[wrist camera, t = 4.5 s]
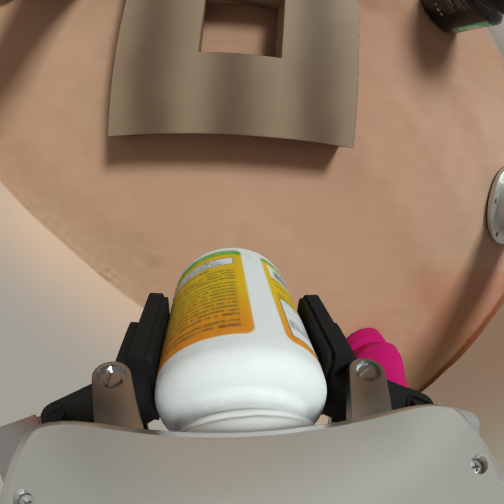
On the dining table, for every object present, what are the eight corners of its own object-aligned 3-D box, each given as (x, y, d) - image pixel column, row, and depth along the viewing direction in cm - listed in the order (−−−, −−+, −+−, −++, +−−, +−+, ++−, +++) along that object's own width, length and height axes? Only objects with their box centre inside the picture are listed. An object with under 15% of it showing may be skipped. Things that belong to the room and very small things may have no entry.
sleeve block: (343, -22, 17) (355, -33, 14) (339, 146, 24) (353, 147, 22) (148, -40, 14) (142, -54, 11) (119, 136, 22) (107, 136, 19)
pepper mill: (392, 332, 35) (472, 438, 16) (360, 369, 37) (421, 479, 18) (359, 317, 33) (448, 445, 14) (324, 359, 34) (386, 490, 16)
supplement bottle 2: (456, 44, 20) (525, 34, 9) (417, 12, 19) (487, -12, 8) (458, 11, 18) (519, -3, 7) (421, -19, 17) (482, -45, 6)
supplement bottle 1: (166, 323, 14) (136, 499, 5) (192, 230, 13) (150, 423, 4) (261, 346, 16) (297, 509, 7) (301, 263, 14) (400, 434, 5)
